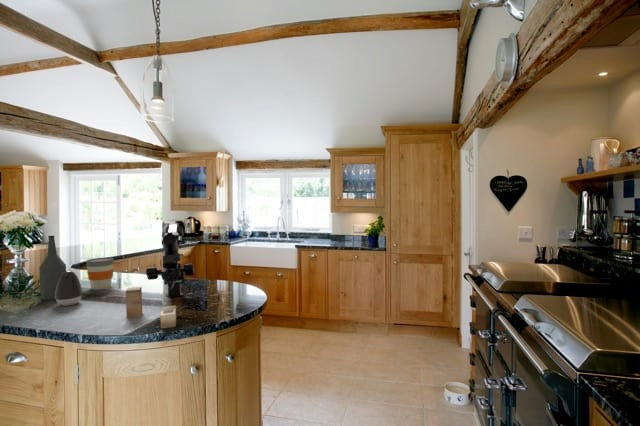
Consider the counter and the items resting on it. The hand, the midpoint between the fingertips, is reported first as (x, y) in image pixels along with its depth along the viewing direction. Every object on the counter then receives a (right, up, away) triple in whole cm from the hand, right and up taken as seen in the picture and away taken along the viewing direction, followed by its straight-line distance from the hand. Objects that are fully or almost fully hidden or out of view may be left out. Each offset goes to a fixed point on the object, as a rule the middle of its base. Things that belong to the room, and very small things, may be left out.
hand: (170, 288), depth 149 cm
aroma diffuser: (-51, -10, +12) cm, 53 cm away
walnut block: (-13, -10, -4) cm, 17 cm away
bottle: (-66, -9, +24) cm, 71 cm away
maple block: (+3, -8, -7) cm, 11 cm away
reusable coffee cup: (-55, -8, +42) cm, 69 cm away
